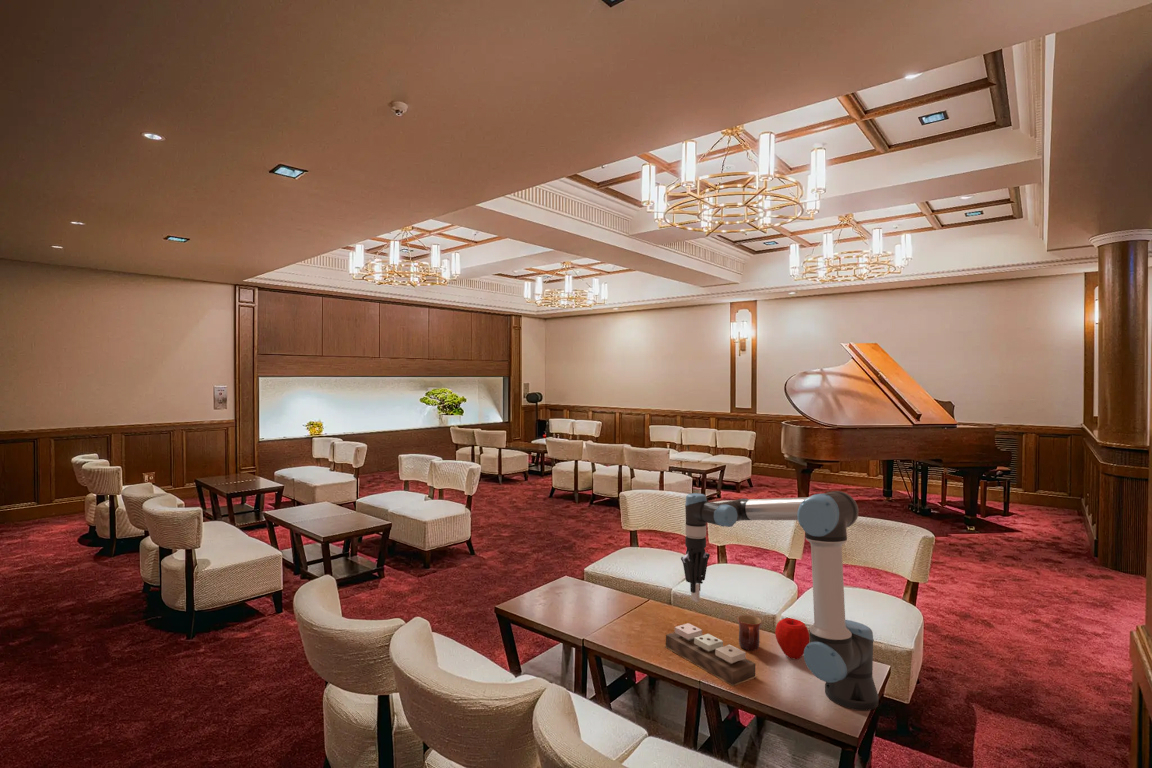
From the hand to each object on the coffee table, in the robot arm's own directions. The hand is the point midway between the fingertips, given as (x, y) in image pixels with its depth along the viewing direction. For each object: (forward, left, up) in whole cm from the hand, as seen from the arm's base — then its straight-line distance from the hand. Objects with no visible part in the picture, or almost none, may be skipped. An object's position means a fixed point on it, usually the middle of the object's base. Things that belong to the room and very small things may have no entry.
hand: (695, 600), depth 207 cm
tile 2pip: (+1, +2, -17) cm, 17 cm away
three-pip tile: (-9, +2, -17) cm, 19 cm away
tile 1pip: (-19, +2, -17) cm, 25 cm away
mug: (-10, -19, -18) cm, 28 cm away
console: (-9, +2, -18) cm, 20 cm away
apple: (-22, -27, -18) cm, 39 cm away
